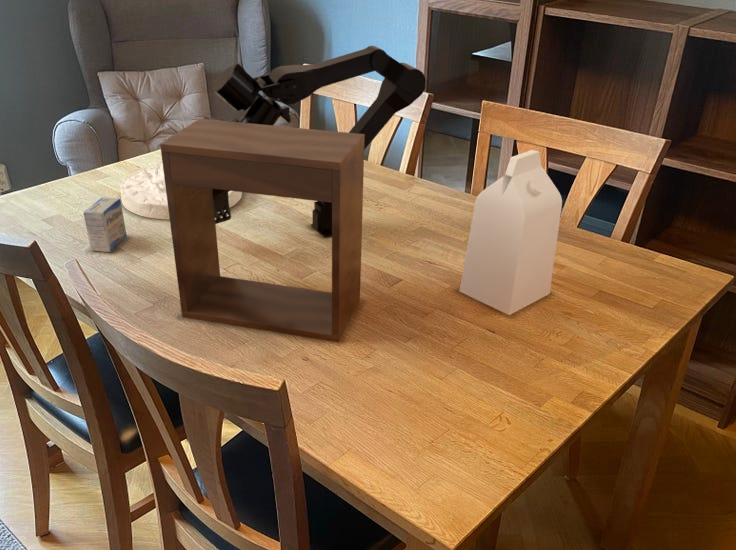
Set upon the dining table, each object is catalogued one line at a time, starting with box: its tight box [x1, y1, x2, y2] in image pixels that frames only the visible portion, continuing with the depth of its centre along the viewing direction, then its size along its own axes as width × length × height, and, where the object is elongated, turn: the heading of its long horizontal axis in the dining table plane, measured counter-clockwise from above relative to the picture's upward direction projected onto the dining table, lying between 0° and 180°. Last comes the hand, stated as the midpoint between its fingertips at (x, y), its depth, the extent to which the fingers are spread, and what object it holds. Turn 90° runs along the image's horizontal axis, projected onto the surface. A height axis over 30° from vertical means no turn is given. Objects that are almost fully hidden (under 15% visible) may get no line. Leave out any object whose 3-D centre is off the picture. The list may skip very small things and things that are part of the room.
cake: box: [119, 161, 243, 221], centre depth 172 cm, size 28×28×10 cm
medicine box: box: [83, 197, 128, 253], centre depth 150 cm, size 8×4×9 cm, turn 168°
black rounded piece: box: [213, 190, 232, 225], centre depth 144 cm, size 7×4×11 cm, turn 126°
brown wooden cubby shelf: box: [159, 118, 365, 343], centre depth 122 cm, size 14×28×30 cm, turn 74°
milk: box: [458, 149, 563, 316], centre depth 129 cm, size 12×12×26 cm
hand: (206, 192), depth 143 cm, fingers closed on black rounded piece, 4 cm apart
